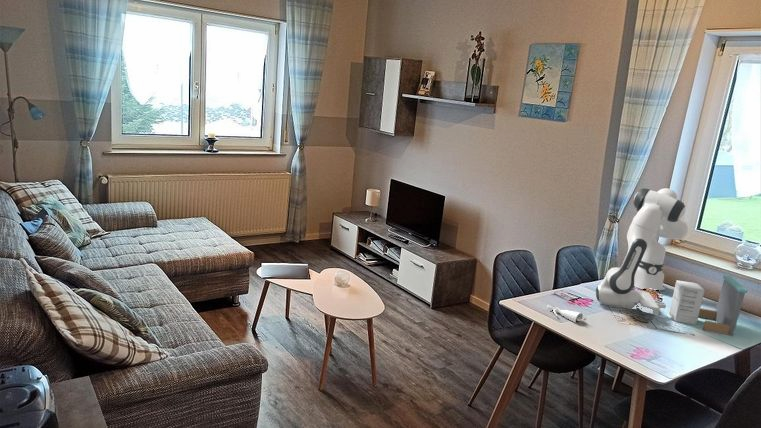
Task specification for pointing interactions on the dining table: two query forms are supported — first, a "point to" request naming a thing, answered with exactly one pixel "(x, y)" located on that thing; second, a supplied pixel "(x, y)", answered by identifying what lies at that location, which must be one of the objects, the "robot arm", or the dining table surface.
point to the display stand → (725, 308)
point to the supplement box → (686, 302)
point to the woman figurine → (567, 314)
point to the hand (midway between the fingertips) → (664, 305)
